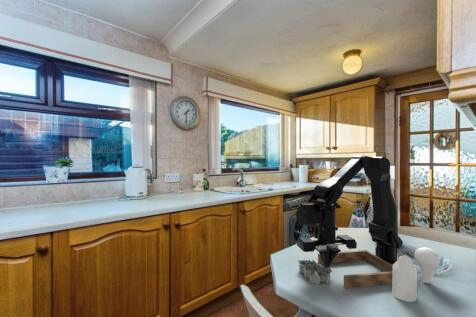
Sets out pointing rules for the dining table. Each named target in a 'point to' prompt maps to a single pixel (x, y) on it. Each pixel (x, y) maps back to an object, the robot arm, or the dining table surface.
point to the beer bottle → (391, 205)
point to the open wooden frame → (367, 278)
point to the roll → (404, 279)
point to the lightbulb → (427, 262)
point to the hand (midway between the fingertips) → (326, 268)
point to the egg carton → (309, 271)
